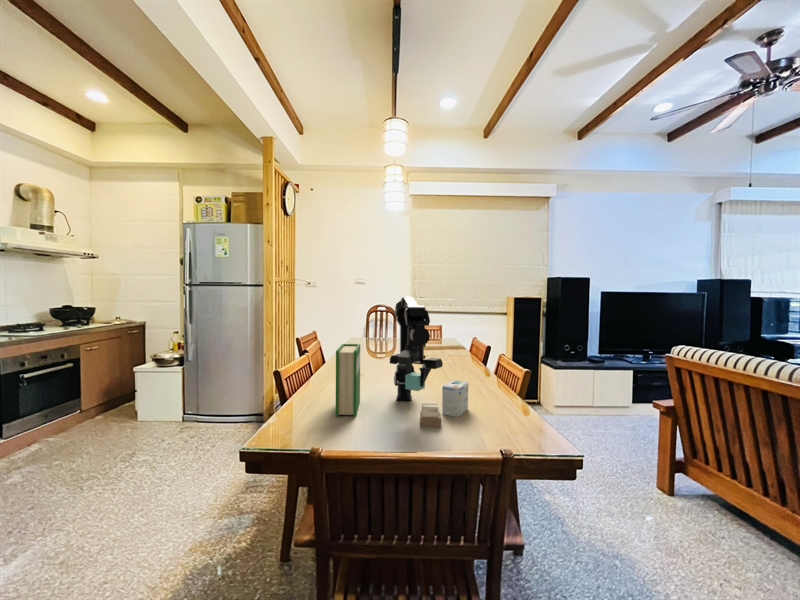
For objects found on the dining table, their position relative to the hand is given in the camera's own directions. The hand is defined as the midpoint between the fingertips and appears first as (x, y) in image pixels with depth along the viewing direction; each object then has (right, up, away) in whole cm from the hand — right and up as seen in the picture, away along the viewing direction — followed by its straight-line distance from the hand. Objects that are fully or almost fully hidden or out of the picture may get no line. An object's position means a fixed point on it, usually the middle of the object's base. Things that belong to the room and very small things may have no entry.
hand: (415, 385), depth 127 cm
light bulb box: (+16, -13, +10) cm, 23 cm away
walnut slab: (+5, -13, -3) cm, 14 cm away
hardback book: (-25, -12, +12) cm, 31 cm away
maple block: (+5, -9, -3) cm, 11 cm away
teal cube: (0, -1, 0) cm, 1 cm away
